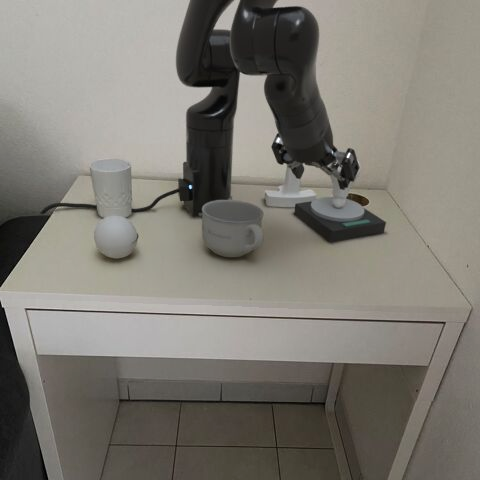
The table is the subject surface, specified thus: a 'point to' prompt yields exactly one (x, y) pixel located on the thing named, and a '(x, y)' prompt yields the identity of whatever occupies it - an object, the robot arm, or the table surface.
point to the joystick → (288, 193)
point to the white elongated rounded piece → (115, 236)
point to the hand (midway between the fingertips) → (322, 179)
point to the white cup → (112, 186)
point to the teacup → (232, 227)
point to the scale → (339, 219)
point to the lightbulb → (338, 193)
